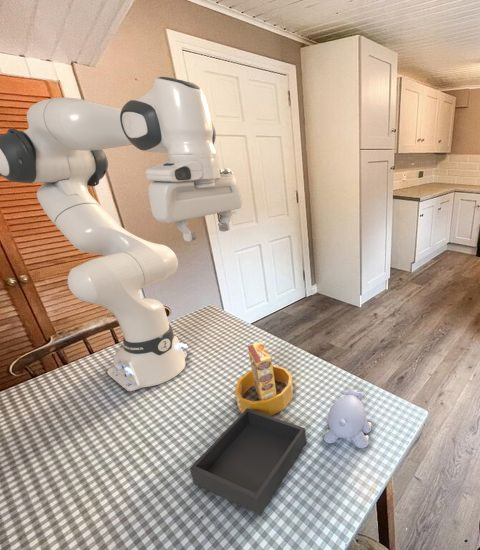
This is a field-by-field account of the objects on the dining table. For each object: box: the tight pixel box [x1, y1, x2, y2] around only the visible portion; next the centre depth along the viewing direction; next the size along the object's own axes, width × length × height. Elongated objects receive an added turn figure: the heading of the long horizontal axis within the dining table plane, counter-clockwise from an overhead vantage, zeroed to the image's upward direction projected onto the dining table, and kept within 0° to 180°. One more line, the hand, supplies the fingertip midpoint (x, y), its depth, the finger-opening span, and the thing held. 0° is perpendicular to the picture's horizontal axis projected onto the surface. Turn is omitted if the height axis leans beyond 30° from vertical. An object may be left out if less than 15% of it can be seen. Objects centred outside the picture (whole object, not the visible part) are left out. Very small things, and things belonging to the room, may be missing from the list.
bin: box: [189, 408, 307, 517], centre depth 66 cm, size 17×17×5 cm
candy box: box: [247, 341, 278, 401], centre depth 82 cm, size 9×4×15 cm, turn 33°
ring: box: [234, 364, 294, 417], centre depth 84 cm, size 15×15×5 cm
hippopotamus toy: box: [323, 388, 373, 449], centre depth 74 cm, size 11×15×10 cm
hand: (208, 235), depth 67 cm, fingers open, 8 cm apart
